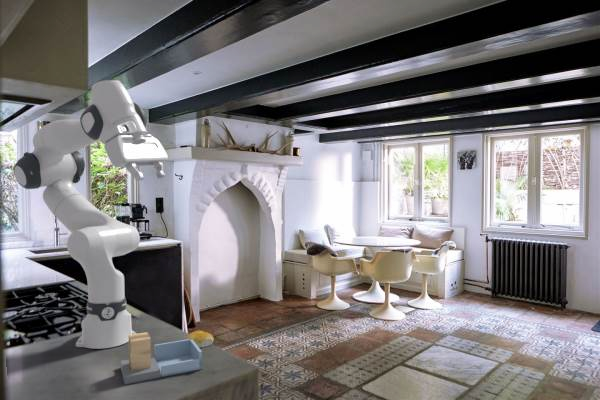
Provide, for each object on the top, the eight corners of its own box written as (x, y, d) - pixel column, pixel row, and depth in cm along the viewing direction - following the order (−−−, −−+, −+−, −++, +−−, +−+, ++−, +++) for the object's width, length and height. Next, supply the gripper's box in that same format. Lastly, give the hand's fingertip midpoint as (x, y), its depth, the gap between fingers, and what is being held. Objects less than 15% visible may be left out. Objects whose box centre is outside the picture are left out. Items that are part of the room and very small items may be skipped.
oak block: (129, 363, 120) (128, 334, 120) (147, 359, 123) (147, 332, 123) (131, 371, 115) (130, 341, 115) (150, 367, 117) (150, 338, 117)
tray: (154, 361, 126) (154, 344, 126) (192, 354, 132) (191, 338, 131) (161, 377, 116) (161, 358, 116) (202, 369, 121) (201, 351, 121)
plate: (120, 367, 122) (120, 360, 122) (153, 361, 126) (153, 355, 126) (124, 384, 112) (124, 377, 112) (160, 377, 116) (160, 370, 116)
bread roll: (202, 337, 148) (202, 326, 148) (217, 343, 142) (217, 331, 141) (180, 343, 142) (180, 331, 142) (195, 350, 136) (195, 338, 136)
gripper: (145, 139, 129) (165, 181, 128) (94, 138, 109) (117, 186, 109) (161, 129, 127) (181, 171, 126) (112, 126, 107) (135, 175, 107)
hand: (151, 178), depth 117 cm, fingers open, 8 cm apart
